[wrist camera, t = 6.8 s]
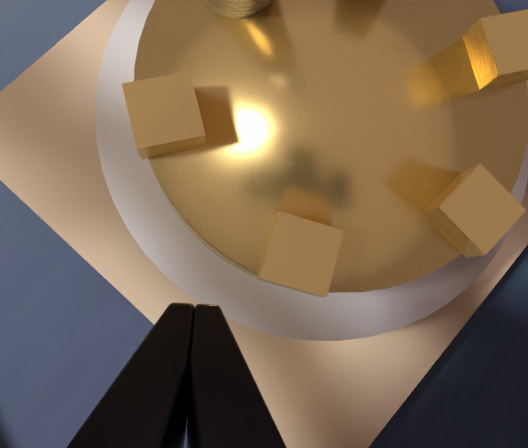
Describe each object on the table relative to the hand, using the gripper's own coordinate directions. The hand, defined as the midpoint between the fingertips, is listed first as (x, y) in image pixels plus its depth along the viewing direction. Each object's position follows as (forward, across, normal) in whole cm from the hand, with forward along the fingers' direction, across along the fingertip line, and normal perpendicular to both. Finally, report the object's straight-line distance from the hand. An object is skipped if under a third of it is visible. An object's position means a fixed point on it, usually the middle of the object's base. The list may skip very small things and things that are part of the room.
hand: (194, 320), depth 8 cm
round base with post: (+9, -4, 0) cm, 10 cm away
